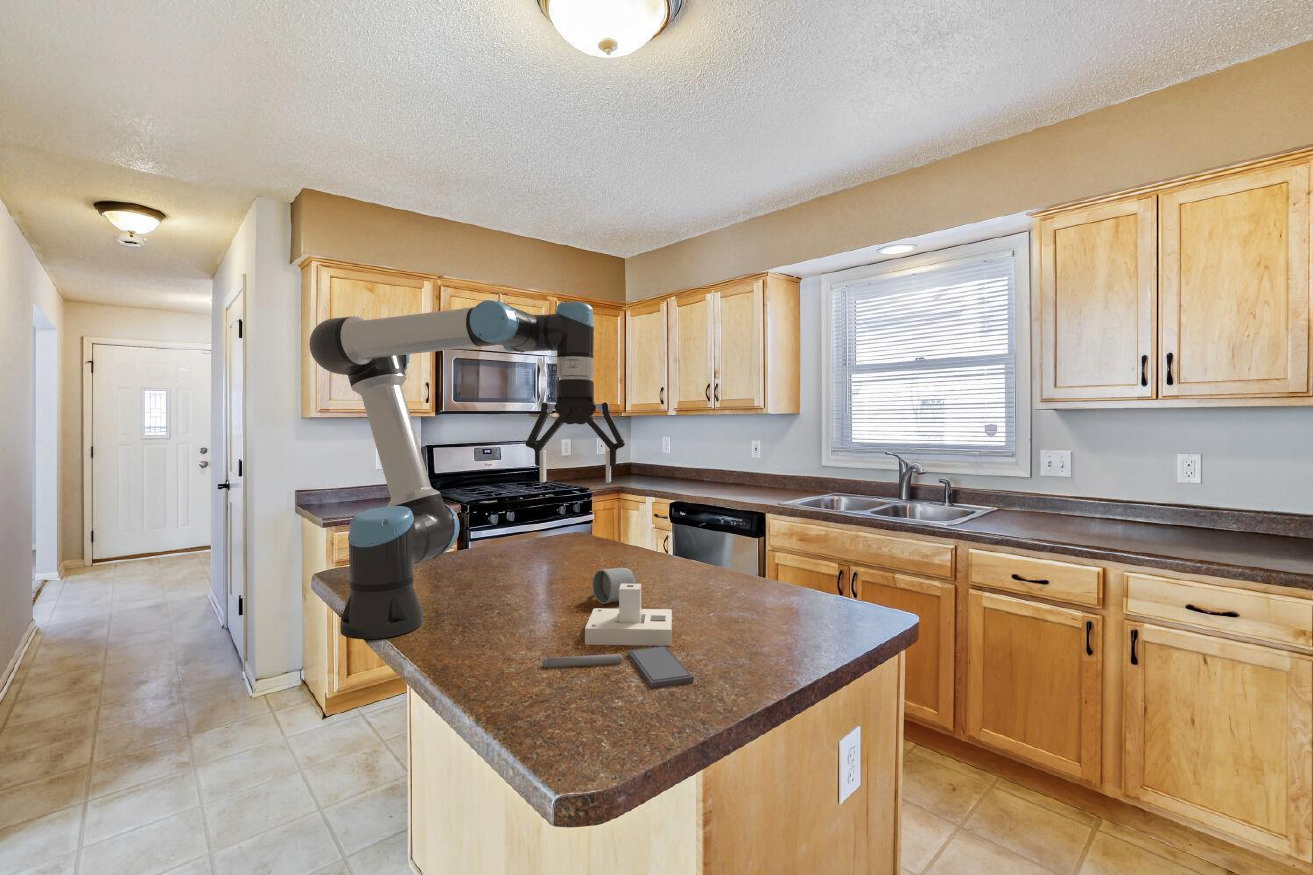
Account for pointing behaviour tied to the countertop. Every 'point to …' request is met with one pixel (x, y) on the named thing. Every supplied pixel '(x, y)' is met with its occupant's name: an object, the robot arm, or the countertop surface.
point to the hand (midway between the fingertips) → (575, 482)
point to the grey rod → (582, 660)
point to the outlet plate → (629, 628)
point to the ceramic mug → (611, 583)
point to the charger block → (630, 603)
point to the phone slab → (660, 666)
